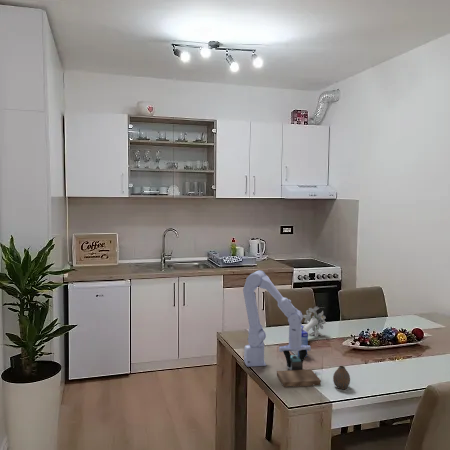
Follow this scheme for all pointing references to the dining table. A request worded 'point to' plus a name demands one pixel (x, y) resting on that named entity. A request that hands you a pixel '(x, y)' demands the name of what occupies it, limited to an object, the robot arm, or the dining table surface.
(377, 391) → the dining table surface
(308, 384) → the walnut stand
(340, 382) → the vase
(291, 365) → the gray teal block
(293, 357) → the cover plate
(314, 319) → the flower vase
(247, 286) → the robot arm
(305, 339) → the ink cartridge box
